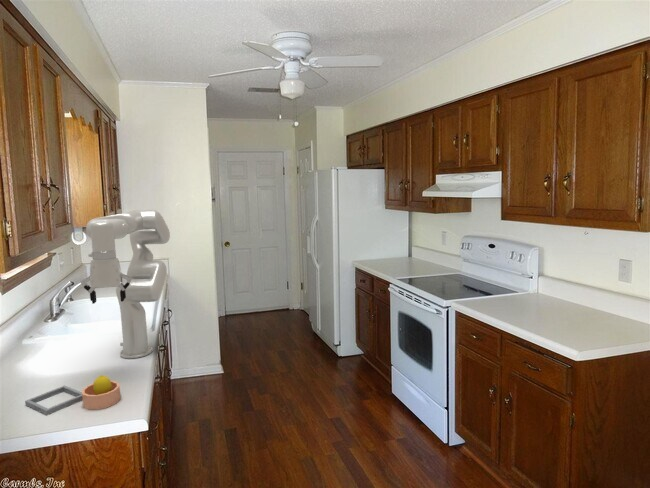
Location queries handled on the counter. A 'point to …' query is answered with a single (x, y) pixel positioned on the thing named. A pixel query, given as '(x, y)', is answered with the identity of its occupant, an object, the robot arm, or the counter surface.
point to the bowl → (100, 397)
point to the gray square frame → (64, 388)
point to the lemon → (102, 385)
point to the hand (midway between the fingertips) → (108, 301)
